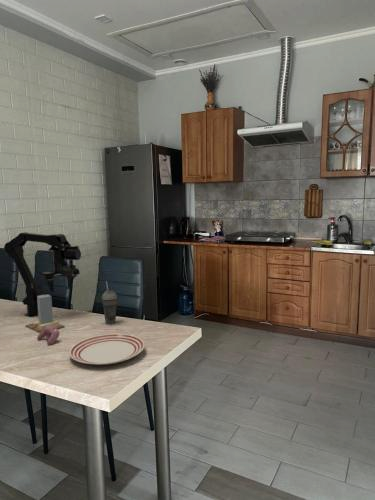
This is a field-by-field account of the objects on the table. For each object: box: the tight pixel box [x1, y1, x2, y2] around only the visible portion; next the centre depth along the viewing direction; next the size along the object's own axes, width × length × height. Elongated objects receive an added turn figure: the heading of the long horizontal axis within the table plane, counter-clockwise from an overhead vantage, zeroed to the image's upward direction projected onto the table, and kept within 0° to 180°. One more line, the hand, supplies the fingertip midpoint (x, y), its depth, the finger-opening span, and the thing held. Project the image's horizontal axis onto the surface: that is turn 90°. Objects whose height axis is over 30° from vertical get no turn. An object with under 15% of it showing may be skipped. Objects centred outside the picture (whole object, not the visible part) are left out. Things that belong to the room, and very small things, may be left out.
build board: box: [25, 319, 65, 334], centre depth 172 cm, size 15×11×3 cm
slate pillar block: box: [37, 294, 54, 324], centre depth 170 cm, size 5×5×12 cm
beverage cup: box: [101, 280, 118, 325], centre depth 176 cm, size 7×7×20 cm
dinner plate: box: [68, 333, 146, 366], centre depth 140 cm, size 28×27×3 cm
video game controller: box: [36, 326, 60, 346], centre depth 154 cm, size 10×5×7 cm, turn 48°
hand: (61, 290), depth 187 cm, fingers open, 9 cm apart
